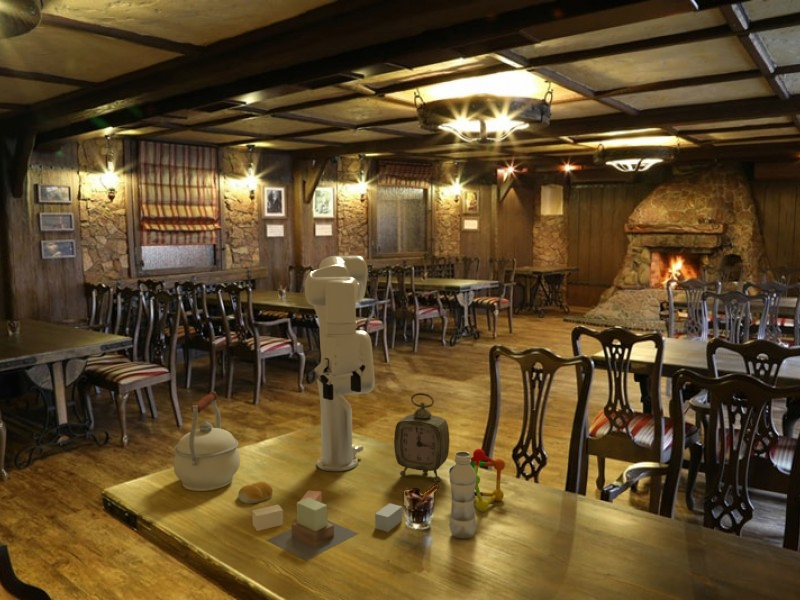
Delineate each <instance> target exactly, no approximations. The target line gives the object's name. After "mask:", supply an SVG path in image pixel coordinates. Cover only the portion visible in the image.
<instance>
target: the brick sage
mask: <svg viewBox="0 0 800 600" xmlns="http://www.w3.org/2000/svg"><path fill="white" fill-rule="evenodd" d="M300 500H301V499H300ZM300 500H299V501H297V502H296V520H297V521H296V522H297V523H299V524H301V525H303V526H305V527H307V528H309V529H312V530H314V531H318V530H320V529H322V528H324V527H326V526H327V520H328V504H325V503H324V502H322V503H321V502H318V501H316V500H313V499H311V498H309V497H308V498H306V499H304V500H301V501H300Z"/></svg>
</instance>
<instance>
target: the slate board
mask: <svg viewBox="0 0 800 600" xmlns="http://www.w3.org/2000/svg"><path fill="white" fill-rule="evenodd" d="M327 522H328V523H330V524H332V525H334V538H332V539H330V540H328V541H326V542H324V543H322V544H320V545H318V546H316V547H313V546H311V545H309V544H307V543H305V542H303V541H301V540H299V539H297V538H295V537H292V528H290V529H288V530H285V531H283V532H281V533H279V534H277V535H275V536H272V537H270V538H268V539H266V541H267V542H269V543H271V544H273V545H275V546H277V547H279V548H280V549H283V550H284V551H287V552H288V553H290V554H292V555H294V556H296V557H297V558H300V559H301V560H304V561H305V562H306V561H309V560H311V559H312V558H315V557H317V556H319V555H320V554H322V553H324V552H326V551H328V550H330V549H332V548H334V547H336V546H337V545H339V544H341V543H344V542H345V541H347V540H349V539H351V538H353V537H354V536H356V535H358V534H359V533H358V532H356V531H353V530H352V529H349V528H347V527H345V526H343V525H340V524H338V523H335V522H333V521H331V520H328V519H327Z"/></svg>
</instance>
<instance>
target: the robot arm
mask: <svg viewBox="0 0 800 600" xmlns="http://www.w3.org/2000/svg"><path fill="white" fill-rule="evenodd" d="M368 275H369V269H368V264H367V262H366V260H365V258H363V257H362V256H360V255H331V256H328V257H325V258H324V259H322V260H321V262H320V263H319V266H318V269H314V270H312V271H310V272H309V273H308V274H307V276H306V278H305V284H304V291H305V299H306V300H307V301H306V302H307V303H308V304H309V305H310V306H313V309H314V311H315V313H316V316H317V320H318V323H319V324H318V325H319V326H318V327H319V342H320V345H319V347H320V363H319V364H318V365H317V366H316V367H315V368H314V373H315V375H316V383H317V388H318V394H319V395H318V396H319V403H320V404H319V405H320V427H321V428H320V432H321V433H320V434H321V436H320V437H321V438H320V439H321V441H320V442H321V456H320V457H319V458H318V459H317V460H316V466H317V467H318V468H319V469H321V470H322V471H327V472H344V471H349V470H351V469H353V468H355V467H356V466H357V465H358V464H359V461H358V460H359V459H358V457H357V456H356V455H357V453H361V452H363V451H364V446H363V445H361V444H360V445H357V446H355V445H354V444H353V410H352V406H351V404H350V402H349V401H348V400H347V399H346V398H345V397H344V396H345V395H346V396H347V395H362V394H369V393H371V392H372V391H373V390H374V389H375V384H376V377H375V367H374V366H375V365H374V354H373V345H372V339H371V336H370V335H369V333H368V332H367V331H365V330H363V329H362V330H361V329H357V328H358V323H357V320H356V319H357V314H356V311H357V309H356V308H357V305H356V303H357V302H359V301H361V300H363V299H364V297H365V295H366V290H367V284H368V283H367V282H368Z"/></svg>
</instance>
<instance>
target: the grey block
mask: <svg viewBox="0 0 800 600" xmlns="http://www.w3.org/2000/svg"><path fill="white" fill-rule="evenodd" d="M374 516H375V517H374V518H375V519H374V523H375V525H374V527H375V529H376V530H379V531H384V532H386V533H389V532H390V531H391V530H393V529H394V528H396V527H397V526H398V525H399V524H400V523H402V522H403V506H401V505H397V504H394V503H390V502H389V503H388V504H387V505H385V506H384V507H383V508H380V510H378V511H377V512H376V513H374Z"/></svg>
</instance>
